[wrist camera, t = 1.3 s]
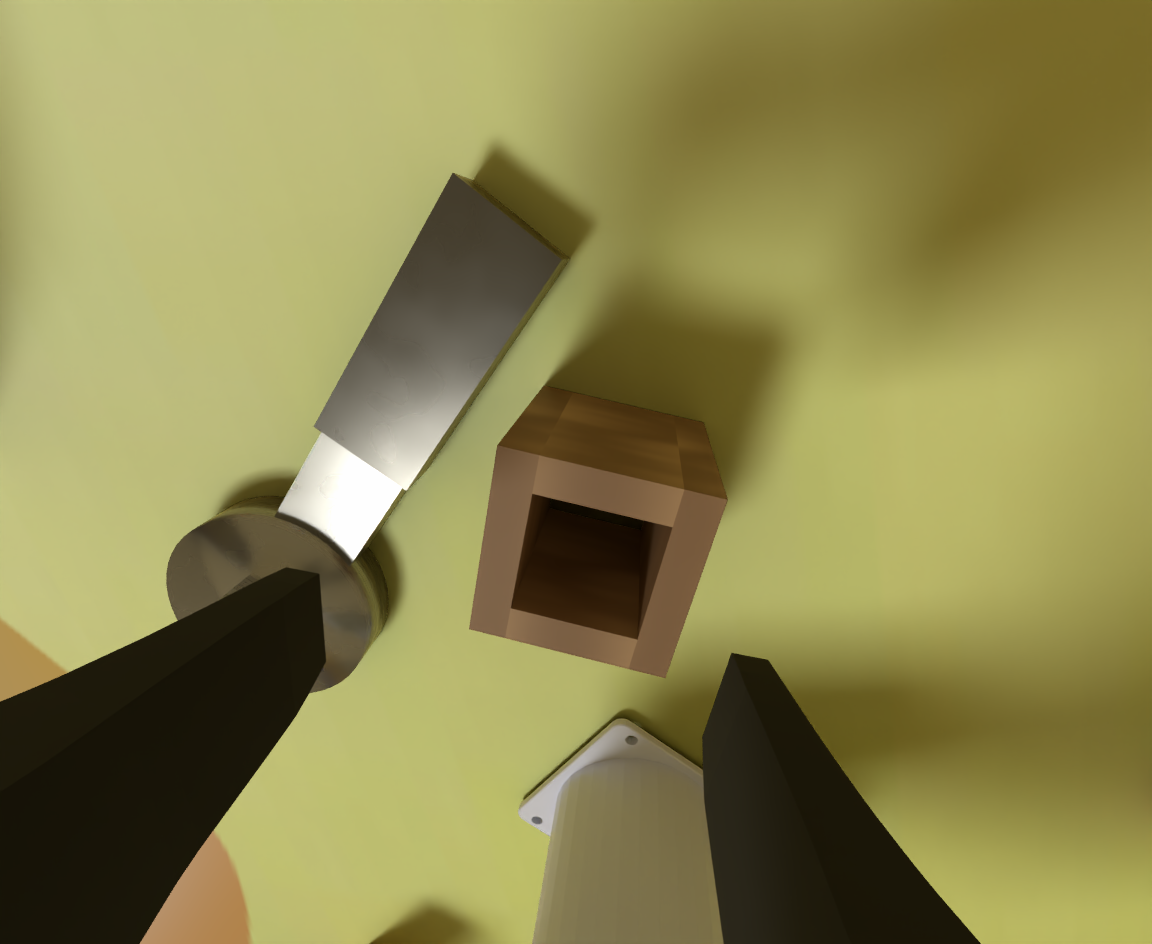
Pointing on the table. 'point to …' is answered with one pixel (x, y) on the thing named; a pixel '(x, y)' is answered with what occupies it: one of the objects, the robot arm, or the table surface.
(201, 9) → the table surface
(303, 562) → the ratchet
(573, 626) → the socket block
